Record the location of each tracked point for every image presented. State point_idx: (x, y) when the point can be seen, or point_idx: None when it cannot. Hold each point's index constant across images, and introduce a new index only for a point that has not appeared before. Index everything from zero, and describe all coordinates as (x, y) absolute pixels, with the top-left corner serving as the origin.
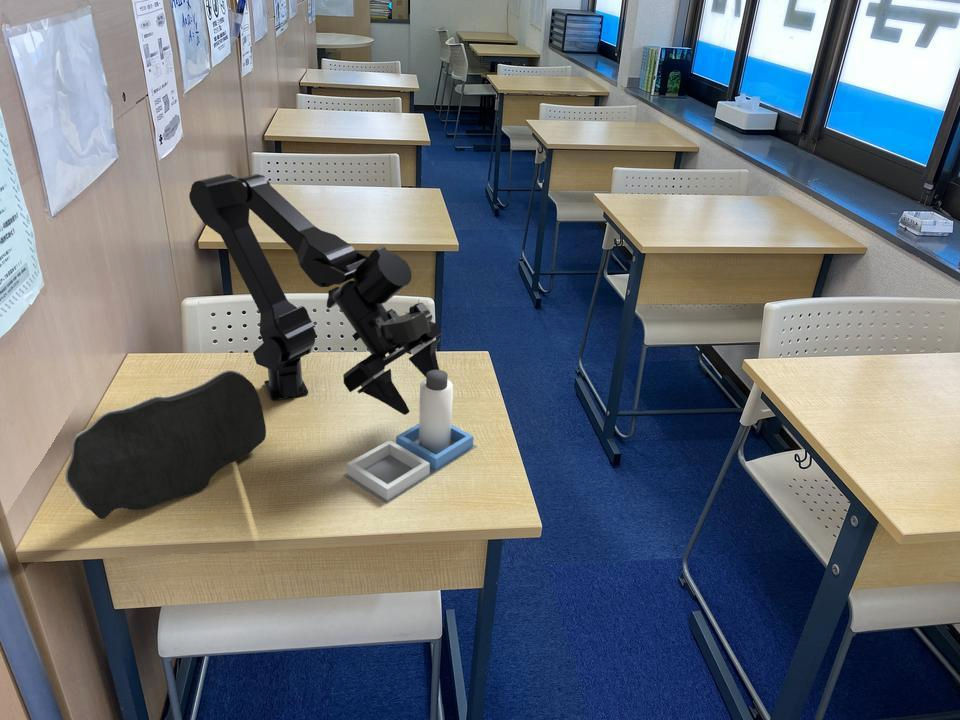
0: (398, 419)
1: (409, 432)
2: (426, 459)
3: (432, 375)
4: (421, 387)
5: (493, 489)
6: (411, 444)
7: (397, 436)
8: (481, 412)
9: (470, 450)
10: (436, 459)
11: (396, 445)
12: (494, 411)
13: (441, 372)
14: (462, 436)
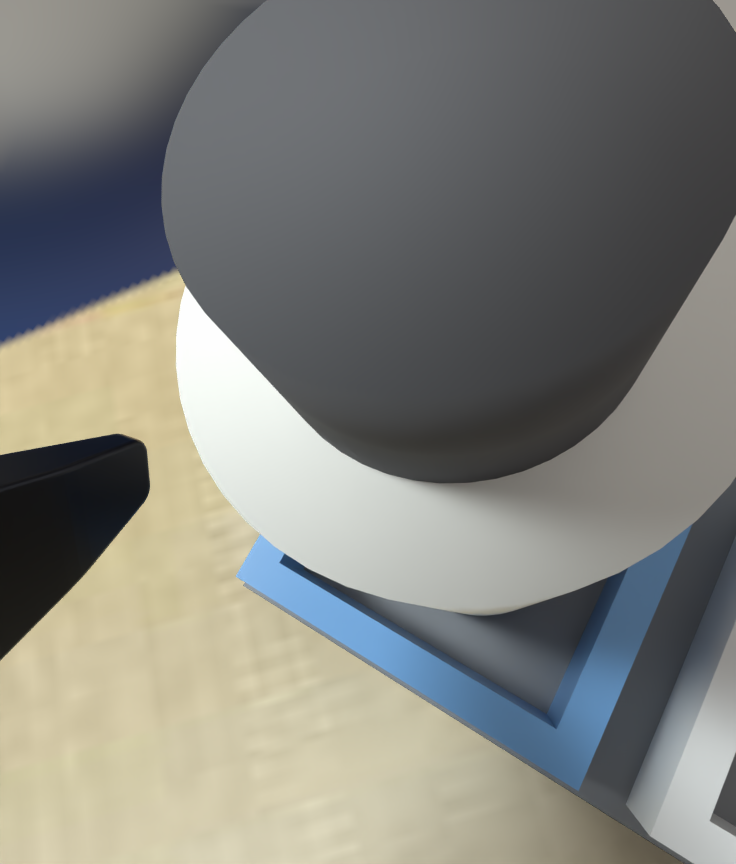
0: (213, 841)
1: (494, 694)
2: None
3: (512, 206)
4: (660, 533)
5: None
6: (639, 635)
7: (577, 778)
8: (82, 386)
9: None
10: None
11: (705, 752)
12: (68, 333)
13: (275, 89)
14: None
